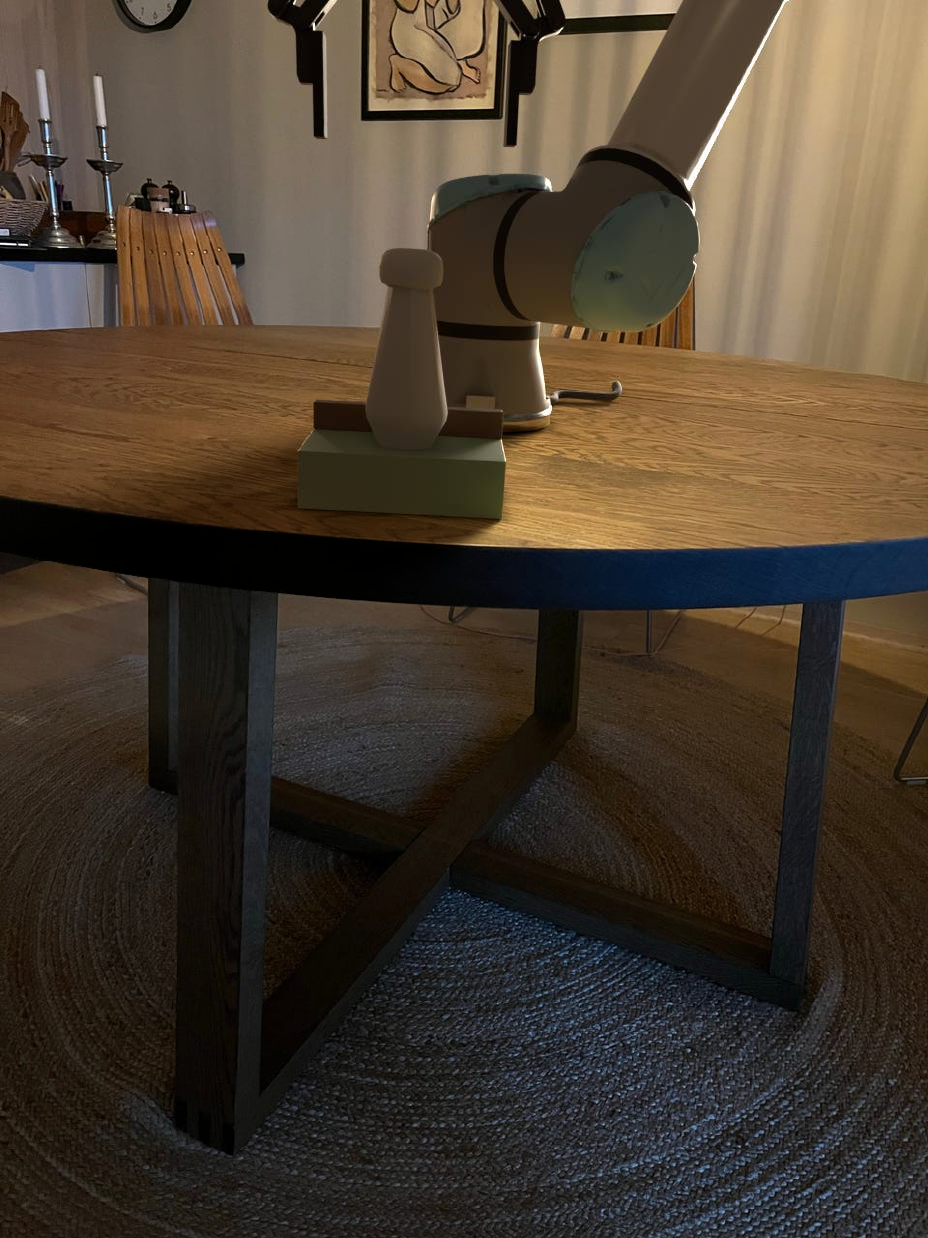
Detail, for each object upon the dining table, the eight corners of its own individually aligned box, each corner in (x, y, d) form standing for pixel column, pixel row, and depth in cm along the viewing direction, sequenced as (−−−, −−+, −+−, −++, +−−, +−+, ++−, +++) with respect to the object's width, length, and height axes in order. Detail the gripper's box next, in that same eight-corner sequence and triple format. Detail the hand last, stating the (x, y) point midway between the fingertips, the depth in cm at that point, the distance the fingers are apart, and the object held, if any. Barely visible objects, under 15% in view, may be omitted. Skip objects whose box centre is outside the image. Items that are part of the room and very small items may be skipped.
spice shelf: (315, 478, 76) (315, 399, 74) (497, 487, 77) (502, 409, 75) (297, 508, 68) (297, 420, 66) (502, 519, 68) (508, 432, 66)
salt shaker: (364, 434, 73) (368, 245, 68) (442, 437, 73) (451, 249, 69) (364, 451, 67) (368, 246, 63) (448, 454, 68) (458, 251, 63)
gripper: (605, -193, 68) (580, 151, 76) (234, -216, 66) (249, 137, 74) (626, -239, 61) (596, 146, 69) (212, -265, 59) (231, 130, 68)
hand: (415, 142), depth 72 cm, fingers open, 13 cm apart
